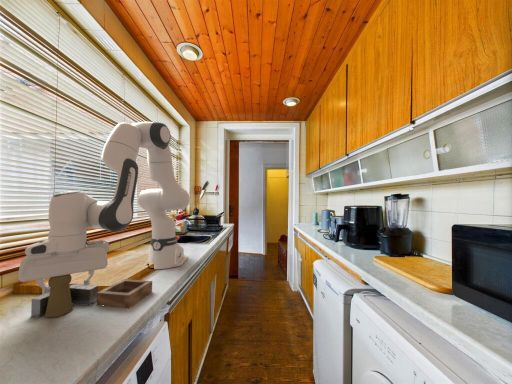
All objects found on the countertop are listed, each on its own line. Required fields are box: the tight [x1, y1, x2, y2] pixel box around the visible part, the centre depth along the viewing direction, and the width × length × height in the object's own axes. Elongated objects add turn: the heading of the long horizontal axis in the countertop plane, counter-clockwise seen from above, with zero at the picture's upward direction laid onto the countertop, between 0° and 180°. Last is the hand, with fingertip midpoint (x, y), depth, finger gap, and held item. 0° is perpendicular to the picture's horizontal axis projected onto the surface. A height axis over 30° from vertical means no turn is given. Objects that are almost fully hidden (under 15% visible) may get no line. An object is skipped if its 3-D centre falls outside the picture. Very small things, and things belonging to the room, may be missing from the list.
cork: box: [44, 274, 73, 318], centre depth 64 cm, size 6×6×11 cm
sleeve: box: [95, 278, 153, 309], centre depth 73 cm, size 12×12×4 cm
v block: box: [30, 283, 99, 318], centre depth 68 cm, size 8×16×5 cm, turn 126°
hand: (67, 288), depth 65 cm, fingers open, 8 cm apart
